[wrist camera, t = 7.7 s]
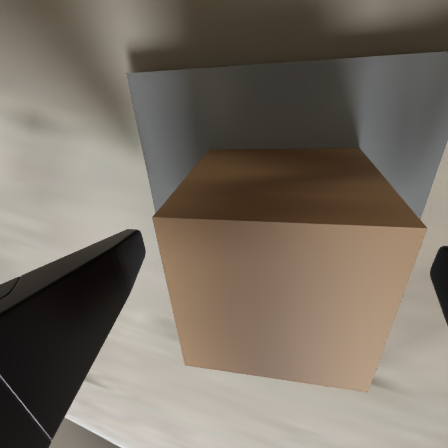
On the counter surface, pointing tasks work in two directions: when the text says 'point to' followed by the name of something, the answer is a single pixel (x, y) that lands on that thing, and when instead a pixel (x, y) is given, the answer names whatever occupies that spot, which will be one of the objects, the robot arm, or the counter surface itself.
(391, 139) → the slate board
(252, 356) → the tan block
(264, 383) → the counter surface
